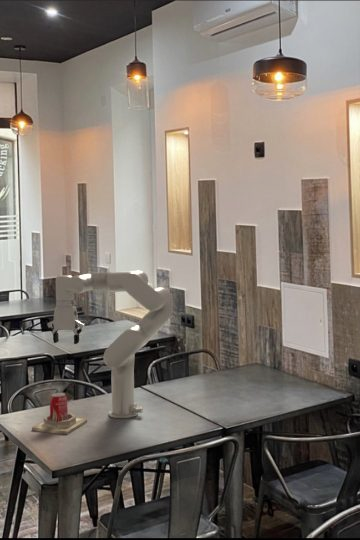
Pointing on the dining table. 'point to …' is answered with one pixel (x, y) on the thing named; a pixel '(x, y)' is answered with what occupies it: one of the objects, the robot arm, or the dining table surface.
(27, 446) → the dining table surface
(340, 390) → the dining table surface
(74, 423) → the drink holder
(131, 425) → the dining table surface
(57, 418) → the soda can
